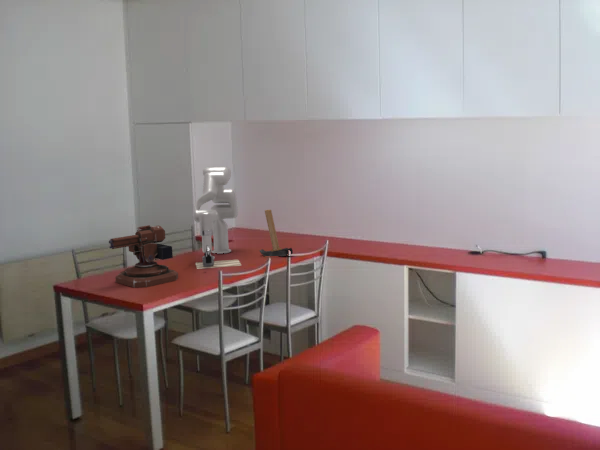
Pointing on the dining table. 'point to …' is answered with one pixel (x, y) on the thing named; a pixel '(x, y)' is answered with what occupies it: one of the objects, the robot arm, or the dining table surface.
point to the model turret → (145, 258)
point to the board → (219, 264)
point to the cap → (208, 263)
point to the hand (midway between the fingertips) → (208, 261)
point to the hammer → (273, 239)
